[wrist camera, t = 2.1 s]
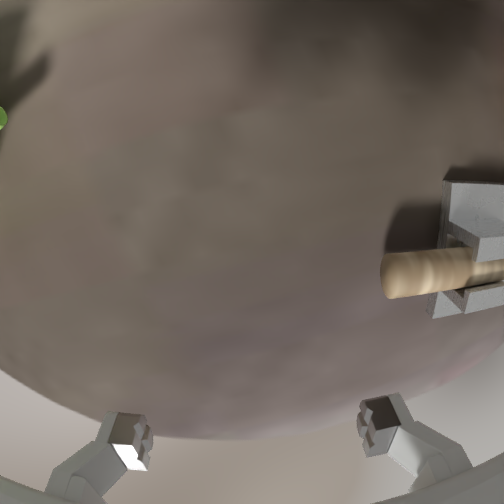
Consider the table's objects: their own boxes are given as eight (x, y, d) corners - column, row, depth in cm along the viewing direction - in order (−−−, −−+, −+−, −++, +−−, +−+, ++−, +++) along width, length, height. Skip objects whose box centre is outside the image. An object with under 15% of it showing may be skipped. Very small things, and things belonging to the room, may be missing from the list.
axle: (377, 279, 24) (391, 307, 21) (384, 245, 22) (401, 272, 19) (501, 263, 24) (518, 284, 21) (511, 234, 22) (531, 255, 19)
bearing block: (438, 178, 23) (485, 195, 17) (524, 182, 23) (567, 198, 17) (422, 307, 27) (455, 345, 21) (506, 291, 27) (539, 318, 21)
